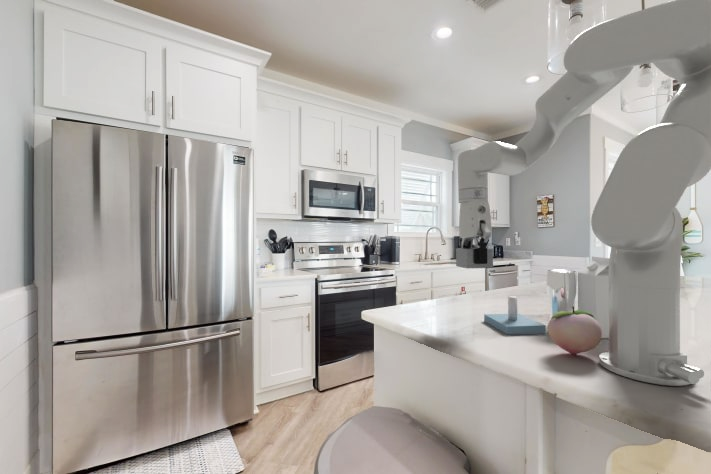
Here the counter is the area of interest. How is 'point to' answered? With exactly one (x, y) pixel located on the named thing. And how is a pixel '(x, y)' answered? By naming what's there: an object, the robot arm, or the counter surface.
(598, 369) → the counter surface
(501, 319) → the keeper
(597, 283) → the milk carton
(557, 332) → the decorative fruit
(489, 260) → the gray square block
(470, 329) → the counter surface
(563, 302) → the beer glass
